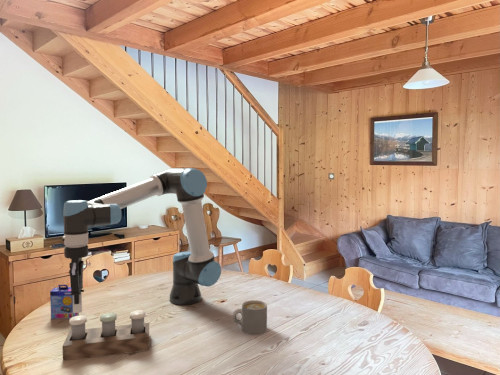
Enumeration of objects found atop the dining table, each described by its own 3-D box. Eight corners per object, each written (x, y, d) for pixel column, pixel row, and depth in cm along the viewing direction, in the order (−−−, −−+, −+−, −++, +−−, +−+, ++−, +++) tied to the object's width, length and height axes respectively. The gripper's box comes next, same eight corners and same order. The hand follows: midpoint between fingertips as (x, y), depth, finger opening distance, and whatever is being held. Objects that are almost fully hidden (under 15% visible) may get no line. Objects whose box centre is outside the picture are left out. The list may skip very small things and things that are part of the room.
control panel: (149, 335, 145) (149, 322, 145) (149, 350, 134) (149, 336, 134) (70, 343, 138) (69, 330, 138) (62, 360, 127) (62, 346, 126)
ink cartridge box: (50, 319, 159) (49, 285, 158) (55, 314, 165) (54, 281, 164) (74, 318, 160) (73, 285, 159) (79, 313, 166) (78, 281, 165)
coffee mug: (267, 324, 156) (268, 300, 155) (265, 335, 146) (265, 310, 145) (235, 322, 158) (235, 299, 157) (231, 333, 148) (231, 308, 147)
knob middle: (117, 330, 139) (117, 312, 139) (116, 337, 134) (116, 318, 133) (101, 332, 138) (101, 313, 137) (99, 339, 132) (99, 319, 132)
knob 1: (88, 333, 137) (88, 314, 136) (85, 340, 131) (85, 321, 131) (71, 335, 135) (71, 316, 135) (68, 342, 130) (67, 322, 129)
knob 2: (145, 327, 142) (145, 309, 141) (145, 334, 136) (145, 315, 136) (130, 329, 140) (129, 310, 140) (129, 336, 135) (129, 316, 134)
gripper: (68, 241, 136) (69, 306, 138) (60, 250, 124) (61, 320, 125) (90, 241, 138) (91, 304, 140) (84, 248, 126) (86, 318, 127)
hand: (77, 311), depth 132 cm, fingers closed
